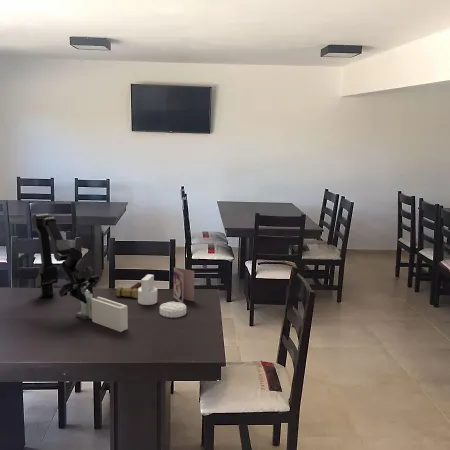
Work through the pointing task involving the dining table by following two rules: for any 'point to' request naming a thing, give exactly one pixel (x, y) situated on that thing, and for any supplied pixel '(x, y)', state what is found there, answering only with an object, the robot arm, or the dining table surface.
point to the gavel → (128, 291)
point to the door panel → (91, 306)
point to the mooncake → (173, 309)
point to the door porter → (84, 306)
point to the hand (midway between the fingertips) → (89, 301)
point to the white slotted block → (110, 314)
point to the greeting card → (183, 284)
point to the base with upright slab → (147, 291)
